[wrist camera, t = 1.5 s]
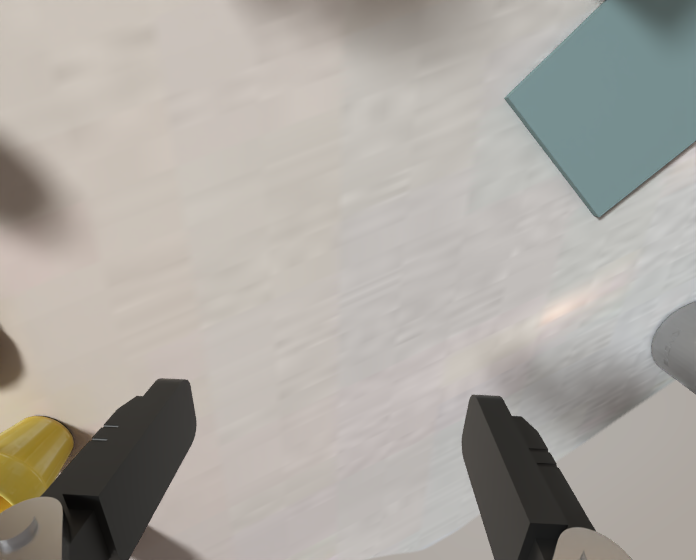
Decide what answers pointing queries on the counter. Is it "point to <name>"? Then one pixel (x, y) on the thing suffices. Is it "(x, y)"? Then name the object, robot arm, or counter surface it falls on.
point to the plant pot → (31, 458)
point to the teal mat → (615, 97)
